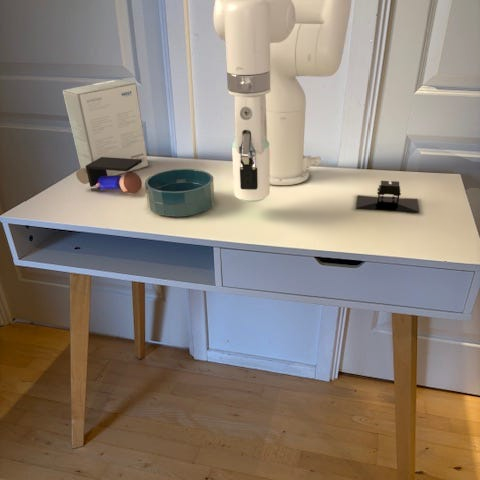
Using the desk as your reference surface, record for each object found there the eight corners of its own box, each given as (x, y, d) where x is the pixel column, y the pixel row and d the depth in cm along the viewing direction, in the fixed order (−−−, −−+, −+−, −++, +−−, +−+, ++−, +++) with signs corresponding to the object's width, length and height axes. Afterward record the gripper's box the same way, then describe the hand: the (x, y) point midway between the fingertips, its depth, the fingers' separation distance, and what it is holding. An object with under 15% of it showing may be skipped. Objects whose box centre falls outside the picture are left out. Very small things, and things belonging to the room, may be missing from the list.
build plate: (417, 200, 104) (421, 179, 102) (418, 214, 99) (423, 192, 96) (357, 196, 107) (360, 175, 104) (355, 209, 101) (358, 188, 98)
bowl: (202, 188, 113) (200, 165, 110) (224, 211, 103) (223, 185, 99) (142, 199, 109) (138, 174, 106) (157, 223, 99) (154, 197, 95)
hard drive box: (133, 160, 132) (120, 78, 120) (149, 166, 127) (138, 82, 116) (80, 174, 124) (61, 88, 112) (95, 182, 119) (77, 93, 107)
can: (265, 205, 95) (264, 142, 88) (230, 202, 97) (226, 140, 89) (273, 190, 100) (273, 130, 93) (239, 188, 102) (237, 128, 95)
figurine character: (80, 198, 115) (134, 199, 109) (70, 165, 110) (125, 164, 104) (98, 188, 120) (150, 188, 114) (89, 156, 115) (142, 155, 109)
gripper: (265, 94, 79) (266, 199, 89) (274, 71, 92) (274, 165, 103) (219, 95, 80) (225, 199, 90) (234, 72, 93) (238, 164, 104)
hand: (251, 180), depth 97 cm, fingers closed on can, 7 cm apart
